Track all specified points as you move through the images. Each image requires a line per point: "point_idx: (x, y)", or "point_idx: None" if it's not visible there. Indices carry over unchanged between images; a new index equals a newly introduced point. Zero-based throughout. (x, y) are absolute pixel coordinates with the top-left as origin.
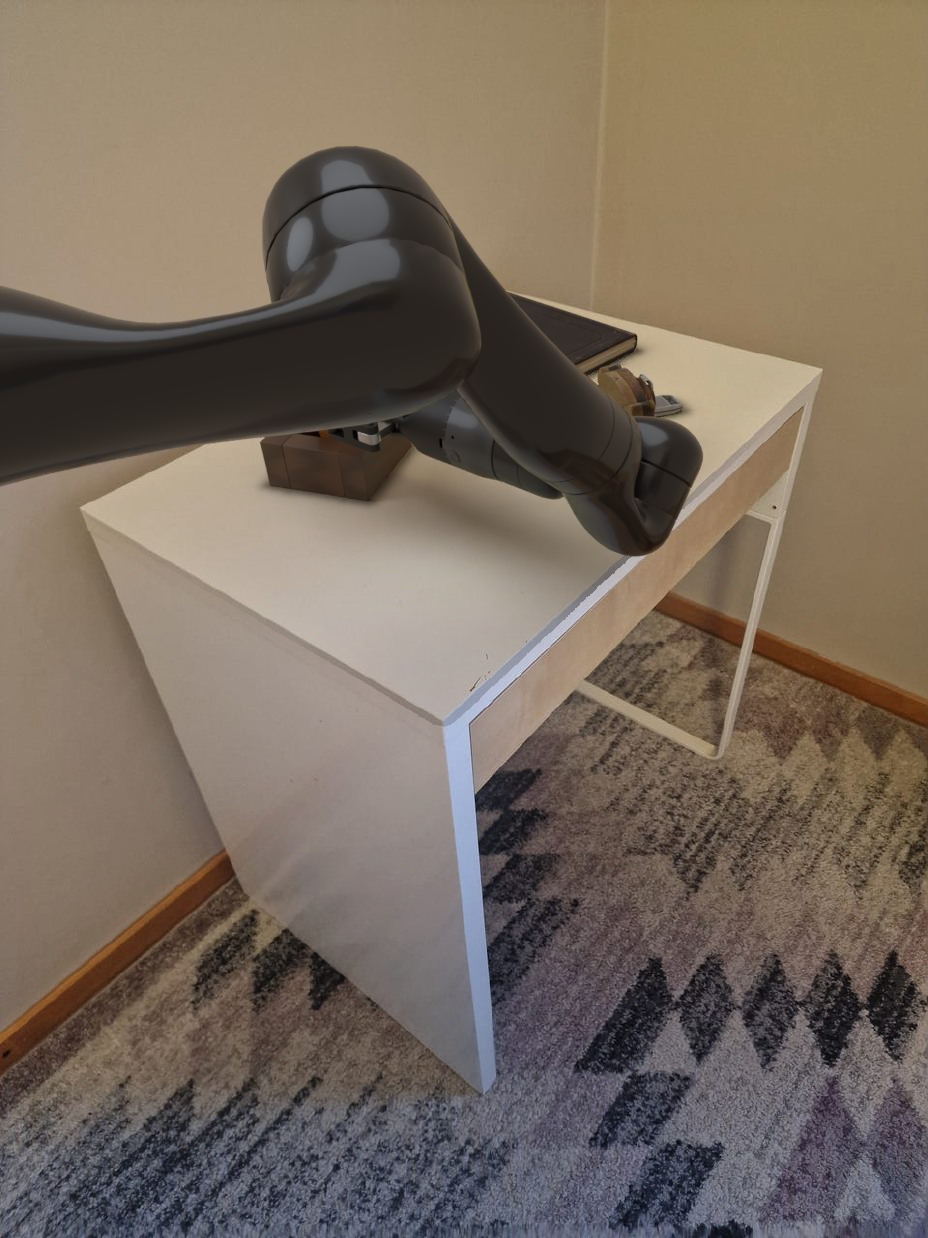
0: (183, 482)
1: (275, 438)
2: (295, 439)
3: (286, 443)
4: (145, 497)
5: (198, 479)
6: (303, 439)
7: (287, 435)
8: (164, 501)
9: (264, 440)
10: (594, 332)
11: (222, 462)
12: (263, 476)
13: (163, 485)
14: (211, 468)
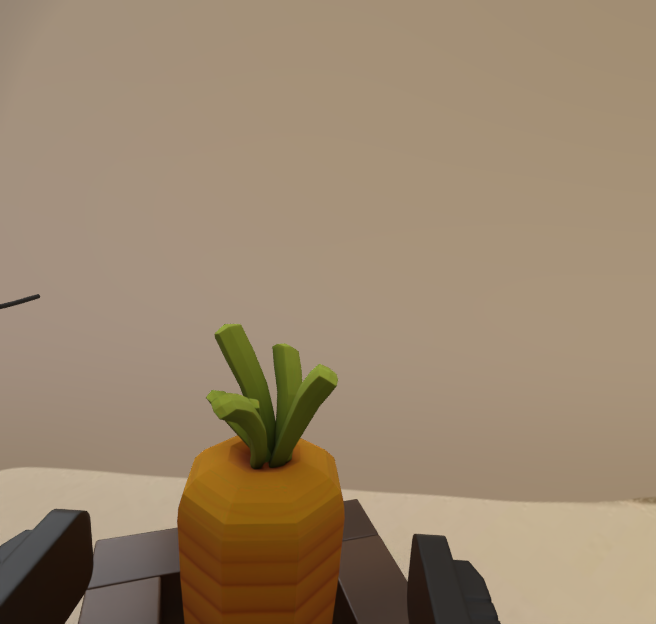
0: (89, 511)
1: (121, 557)
2: (127, 598)
3: (96, 593)
4: (31, 497)
5: (104, 522)
6: (131, 617)
7: (145, 570)
8: (17, 523)
9: (105, 544)
10: None
11: (172, 518)
12: None
13: (75, 496)
14: (147, 517)
